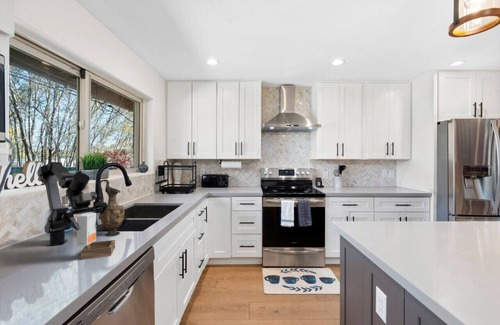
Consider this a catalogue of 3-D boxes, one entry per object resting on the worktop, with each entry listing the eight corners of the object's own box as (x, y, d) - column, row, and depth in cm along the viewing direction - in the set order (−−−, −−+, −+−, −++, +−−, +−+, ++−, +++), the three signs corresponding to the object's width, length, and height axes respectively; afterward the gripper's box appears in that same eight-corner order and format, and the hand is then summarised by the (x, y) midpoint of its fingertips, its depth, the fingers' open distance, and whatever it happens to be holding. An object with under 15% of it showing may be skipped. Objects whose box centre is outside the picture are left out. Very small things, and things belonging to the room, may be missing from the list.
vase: (121, 236, 127) (120, 179, 126) (94, 238, 124) (94, 180, 124) (127, 230, 138) (126, 178, 138) (103, 231, 135) (102, 178, 135)
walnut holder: (88, 250, 107) (88, 242, 107) (115, 247, 111) (115, 239, 111) (81, 259, 97) (81, 251, 97) (111, 255, 101) (110, 247, 101)
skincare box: (87, 245, 96) (87, 216, 96) (76, 245, 96) (76, 216, 96) (96, 240, 102) (96, 212, 102) (86, 240, 102) (86, 212, 102)
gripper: (55, 188, 93) (66, 220, 87) (105, 184, 109) (118, 211, 103) (47, 206, 98) (58, 238, 92) (97, 199, 113) (109, 226, 107)
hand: (88, 227), depth 98 cm, fingers closed on skincare box, 7 cm apart
